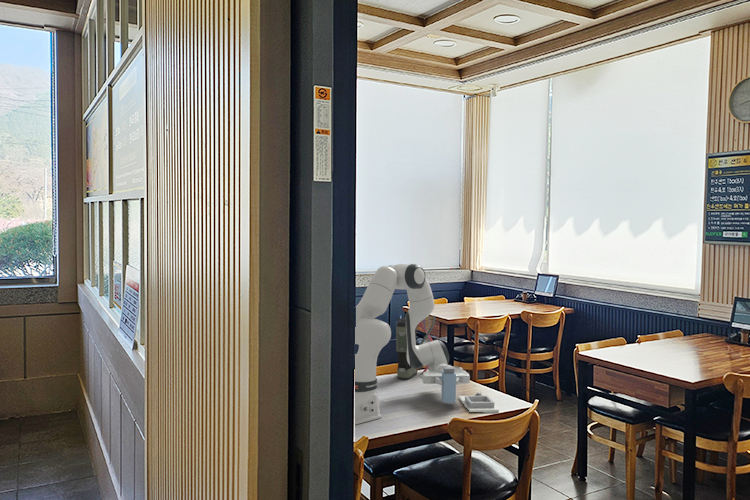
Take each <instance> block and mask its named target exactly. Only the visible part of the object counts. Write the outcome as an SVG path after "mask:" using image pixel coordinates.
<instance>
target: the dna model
mask: <svg viewBox="0 0 750 500" xmlns="http://www.w3.org/2000/svg"><path fill="white" fill-rule="evenodd" d="M435 323H436V316H435V315H433V316H432V317H426V318H425V319H424V320H422V321H421V322H420V323H419V325H420V327H421V329H422V330H423V331H424V333H425V335H424V337H423V338H422V340H421V341H420V343H419V344H418V345H421V344H425V343H428V342H431V341H434V340H433V338H432V337H431V335H430V334H431V333H432V330H433V328H434V326H435ZM423 372H429V365H426V367H425V368H424V369H423V371H422V372H421V374H423Z"/></svg>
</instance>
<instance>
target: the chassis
mask: <svg viewBox="0 0 750 500" xmlns="http://www.w3.org/2000/svg"><path fill="white" fill-rule="evenodd" d="M458 400H459V401H460V402H461V403H462V404H464V405H463V406H464V408H465V409H466V408H467V409H468V410H469V411H468V410H467V409H466V410H467V411H468V413H469V412H485V414H493V413H497V414H498V413H500V410H499V408H498V407H497V405H495V402H494V401H493V400H492V399H491V397H490V396H489V395H483V394H482V393H481V392H476V393H475V394H474V395H458Z"/></svg>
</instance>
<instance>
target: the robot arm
mask: <svg viewBox="0 0 750 500" xmlns="http://www.w3.org/2000/svg"><path fill="white" fill-rule="evenodd" d="M395 290H401V291H402V290H405V291H406V293H407V299H408V302H409V303H408V304H409V306H408V307H409V308H408V309H407V310H408V311H407V312H406V313H405V315H404V318H405V329H406V342H407V361H408V364H409V365H410V366H411V367H413V368H415V369H417V370H418V369H421V368H423V367H425V366H426V365H429V370H428V372H427V371H426V372H423V371H422V372H423V374H422V373H421V374H420V378H421V379H422V383H423V384H427V385H429V384H430V385H434V384H435V385H436V384H437V385H439V386H442V384H443V380H442V371H443V368H444V367H453V368H454V372H455V374H456V385H459V384H466V385H467V384H469V383H470V381H471V380H470V379H471V376H470V373H468V372H467V371H466V370H464V369H463V367H460V366H452V365H451V364H449V362H450V353H449V350H448V348H447V345H446V344H445V343H444V342H443V341H441V340H440V339H434V340H433V341H430V342H424V343H425V344H421V345H419V344H418V345H417V342H416V341H417V339H416V340H415V328H416V326H417V325H418V326H419V325H420V322H423V321H425V320H424V319H425V318H429V317H430V315H431V313H432V312H433V311H434V309H435V300H434V295H433V290H432V288H431V285H430V282H429V280H428V278H427V276H426V272H425V270H424V268H423V267H422V266H421V265H420V264H415V263H411V264H409V263H408V264H407V263H405V264H404V263H403V264H402V263H399V264H392V265H382V266H380V267H378V268H377V270H376V271H375V273H374V274H373V276H372V277H371V279H370V280H369V282H368V285H367V287H366V289H365V291H364V293H363V296H362V297H361V299H360V301H359V302H358V304H357V305H356V306H355V307H356V327H355V344H354V345H358V350H357V353H355V354H354V355H355V425H359V424H362V423H366V422H371V421H374V420H377V419H378V420H379V419H382V414H381V410H380V403H379V396H378V391H377V389H378V378H377V365H378V364H377V362H378V356H379V355H380V352H381V351H382V349H383V348H384V347H385V346H386V345H388V344H389V343H390V340H391V337H392V329H391V327H390V325H389V324H388V323H387V322H385V321H382V320H381V319H377V318H378V317H379V316H381V315H383V314H384V313H385V312H387V310H388V307H389V304H390V302H391V300H392V298H393V295H394V292H395ZM355 425H354V426H355Z"/></svg>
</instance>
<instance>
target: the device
mask: <svg viewBox="0 0 750 500" xmlns="http://www.w3.org/2000/svg"><path fill="white" fill-rule="evenodd" d="M395 324H396V325H395V328H396V329H395V330H396V331H395V332H396V333H395V334H396V336H395V339H396V340H395V341H396V342H395V345H396V346H395V347H396V348H395V350H396V352H397V368H396V374H397V375H396V377H397V380H402V381H409V380H411V379H412V378H414V377H415V376H417V375H418V369H415V368H413V367H411V366H410V365H409V364H408V361H407V342H406V329H405V317H398V319H397V321H395ZM418 327H419V324H418V325H417V326H416V328H415V340H416V343H418V341H417V331H418Z"/></svg>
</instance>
